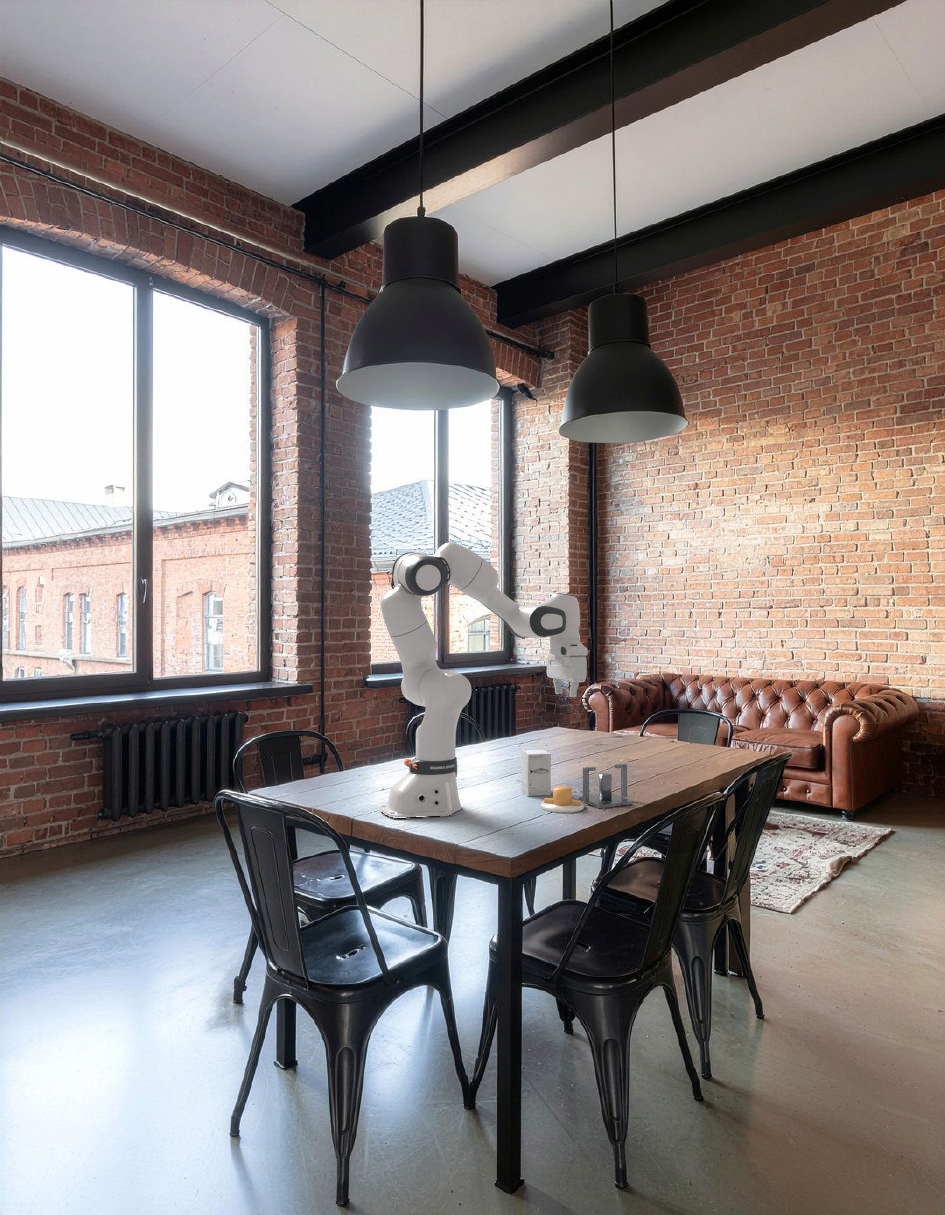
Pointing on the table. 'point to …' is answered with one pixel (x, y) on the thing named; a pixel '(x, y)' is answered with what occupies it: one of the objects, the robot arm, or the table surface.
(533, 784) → the supplement box
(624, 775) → the grey display stand
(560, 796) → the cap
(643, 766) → the table surface
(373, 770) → the table surface
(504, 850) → the table surface
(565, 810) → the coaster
